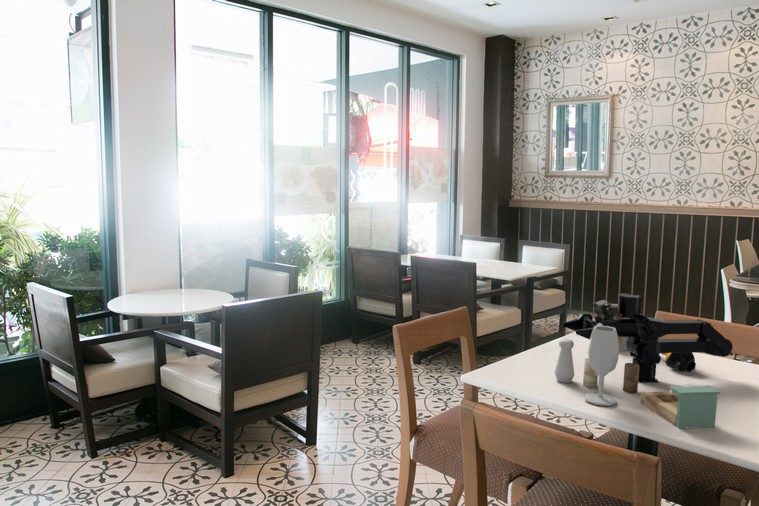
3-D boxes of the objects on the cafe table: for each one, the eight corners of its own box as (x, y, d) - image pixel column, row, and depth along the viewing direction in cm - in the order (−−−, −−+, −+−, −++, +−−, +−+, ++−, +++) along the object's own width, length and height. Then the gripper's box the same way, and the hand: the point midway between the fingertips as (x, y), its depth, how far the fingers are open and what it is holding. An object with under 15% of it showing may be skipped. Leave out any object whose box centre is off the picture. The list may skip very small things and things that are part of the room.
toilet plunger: (680, 362, 192) (641, 331, 207) (680, 387, 198) (642, 355, 213) (704, 351, 193) (664, 321, 208) (703, 375, 199) (664, 344, 214)
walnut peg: (632, 388, 181) (634, 362, 180) (640, 393, 177) (642, 366, 176) (620, 388, 180) (622, 362, 179) (627, 393, 176) (629, 367, 175)
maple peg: (593, 383, 184) (594, 358, 183) (599, 388, 181) (601, 362, 180) (580, 383, 184) (582, 358, 183) (586, 388, 180) (588, 362, 179)
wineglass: (612, 409, 164) (618, 334, 161) (580, 402, 169) (585, 329, 166) (619, 399, 171) (624, 327, 169) (587, 393, 176) (592, 322, 173)
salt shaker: (574, 384, 183) (577, 343, 181) (555, 383, 184) (557, 341, 182) (572, 378, 189) (575, 338, 187) (553, 376, 190) (556, 336, 188)
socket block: (673, 401, 171) (674, 391, 170) (711, 424, 155) (712, 413, 155) (640, 402, 170) (641, 392, 169) (674, 426, 154) (675, 414, 153)
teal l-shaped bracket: (706, 420, 158) (709, 386, 156) (716, 427, 154) (720, 391, 152) (667, 422, 156) (670, 387, 155) (676, 428, 152) (679, 392, 151)
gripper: (604, 296, 194) (558, 296, 193) (635, 308, 176) (585, 309, 174) (602, 329, 196) (556, 330, 194) (633, 346, 178) (582, 346, 176)
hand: (569, 328), depth 184 cm, fingers open, 9 cm apart
